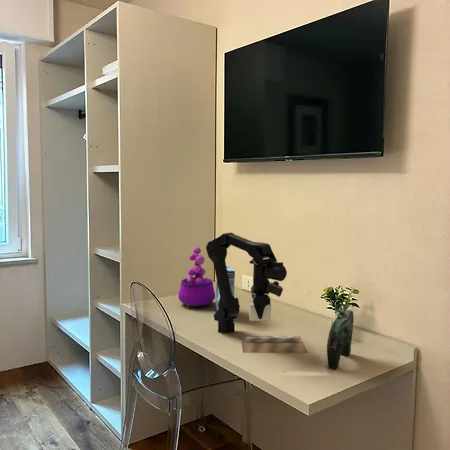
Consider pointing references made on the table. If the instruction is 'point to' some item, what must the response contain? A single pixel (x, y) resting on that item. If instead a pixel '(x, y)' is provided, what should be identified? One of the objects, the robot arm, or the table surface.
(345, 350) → the dark green upright piece
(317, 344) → the table surface
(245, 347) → the cleat board
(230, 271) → the gum box
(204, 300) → the decorative plant
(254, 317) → the notched block
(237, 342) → the table surface
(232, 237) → the robot arm
